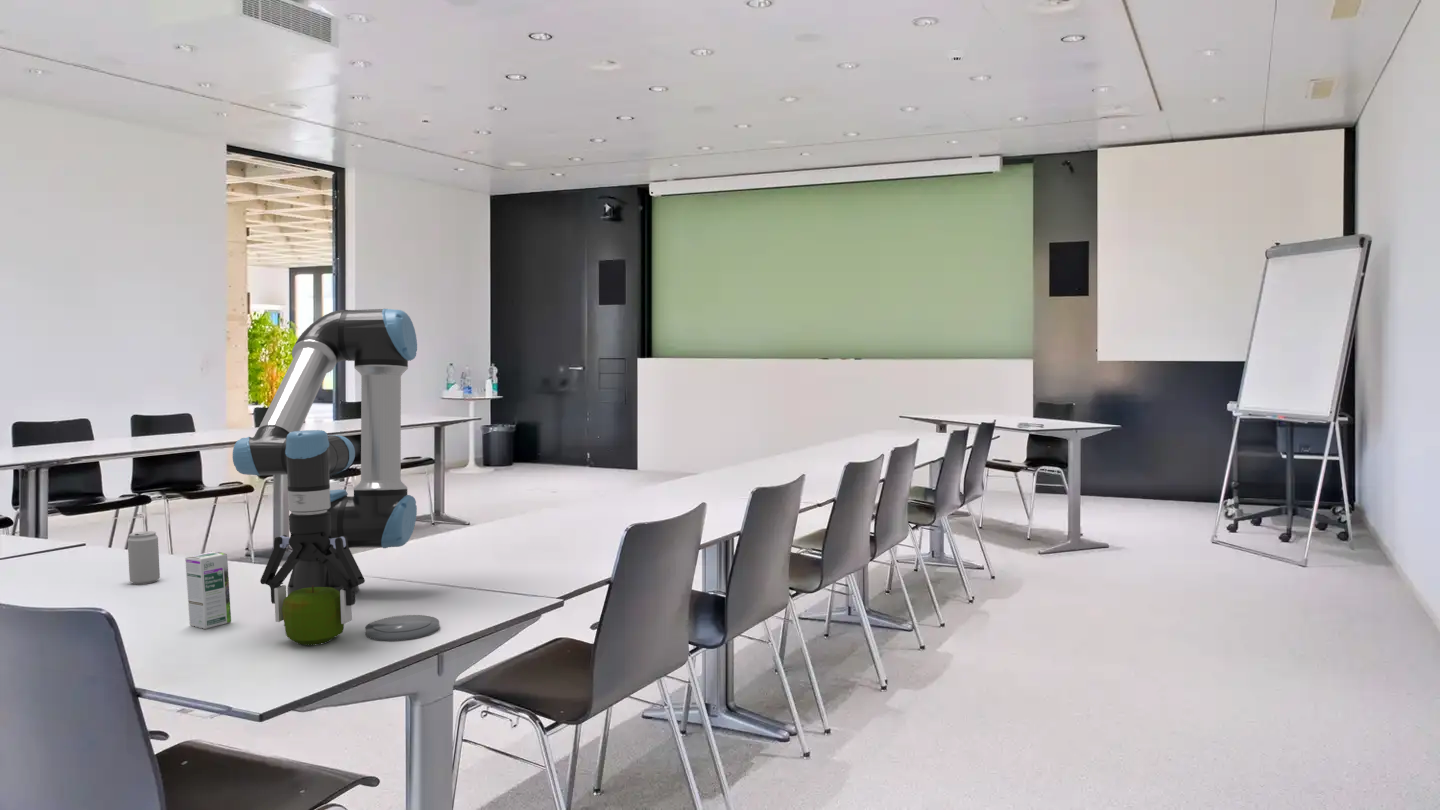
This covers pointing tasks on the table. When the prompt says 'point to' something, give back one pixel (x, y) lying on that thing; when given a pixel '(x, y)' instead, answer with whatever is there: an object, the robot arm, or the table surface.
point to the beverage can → (143, 557)
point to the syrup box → (208, 589)
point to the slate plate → (402, 627)
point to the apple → (312, 615)
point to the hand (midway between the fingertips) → (313, 621)
